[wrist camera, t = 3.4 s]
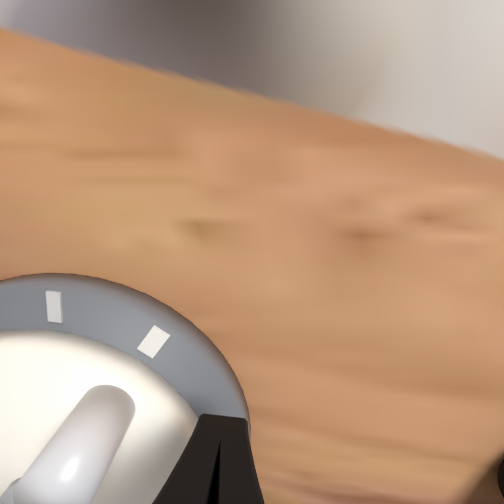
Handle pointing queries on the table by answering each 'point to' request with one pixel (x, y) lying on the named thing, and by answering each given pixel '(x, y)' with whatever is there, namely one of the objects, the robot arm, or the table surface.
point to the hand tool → (501, 478)
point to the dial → (84, 422)
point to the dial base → (127, 333)
